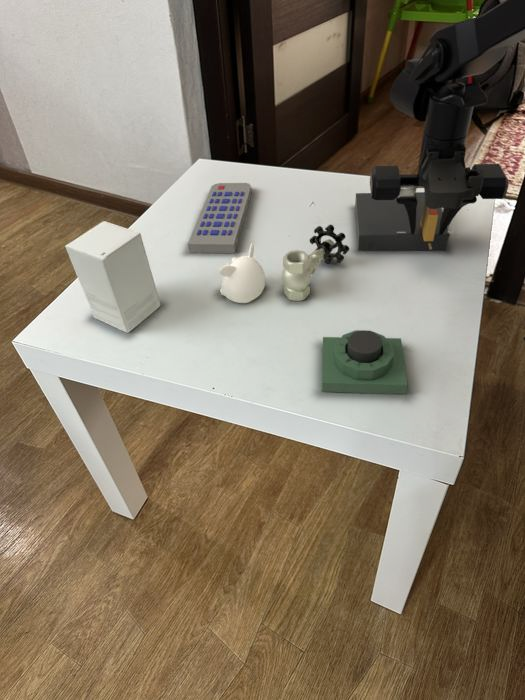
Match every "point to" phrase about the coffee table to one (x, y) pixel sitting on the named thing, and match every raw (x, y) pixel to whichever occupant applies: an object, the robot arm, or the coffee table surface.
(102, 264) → the white packaging box
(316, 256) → the valve
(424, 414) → the coffee table surface
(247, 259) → the figurine
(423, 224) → the tap handle
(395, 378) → the button box
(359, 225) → the panel
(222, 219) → the remote control
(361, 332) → the button
